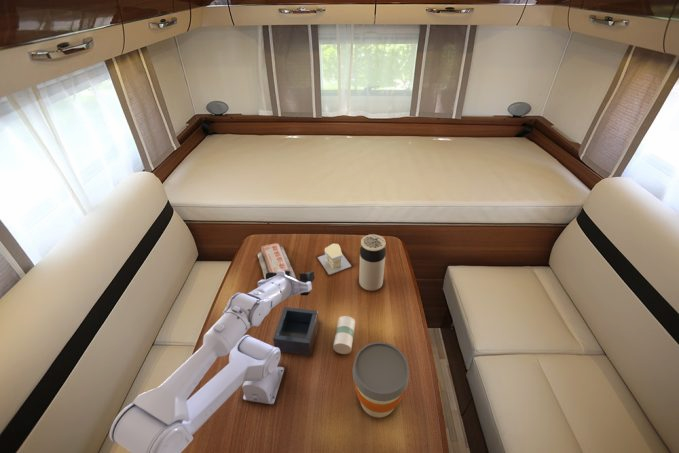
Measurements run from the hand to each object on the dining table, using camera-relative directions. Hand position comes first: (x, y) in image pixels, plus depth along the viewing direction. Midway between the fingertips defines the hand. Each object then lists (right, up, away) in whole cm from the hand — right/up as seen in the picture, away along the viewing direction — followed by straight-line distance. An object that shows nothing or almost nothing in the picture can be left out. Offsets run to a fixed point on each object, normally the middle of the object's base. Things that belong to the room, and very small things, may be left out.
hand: (300, 274), depth 90 cm
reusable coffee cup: (+20, -30, -8) cm, 36 cm away
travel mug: (+21, -6, +23) cm, 31 cm away
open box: (-1, -19, +6) cm, 20 cm away
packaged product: (-12, -2, +29) cm, 31 cm away
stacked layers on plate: (+9, 0, +31) cm, 32 cm away
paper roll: (+12, -17, +4) cm, 22 cm away
